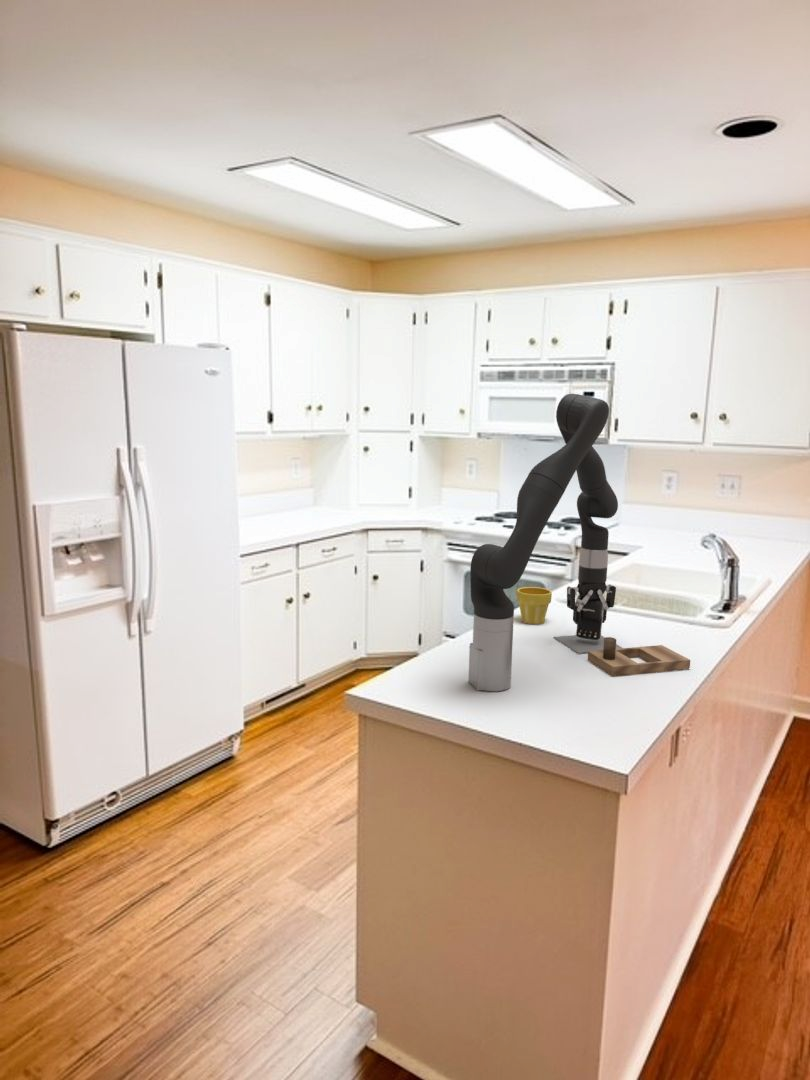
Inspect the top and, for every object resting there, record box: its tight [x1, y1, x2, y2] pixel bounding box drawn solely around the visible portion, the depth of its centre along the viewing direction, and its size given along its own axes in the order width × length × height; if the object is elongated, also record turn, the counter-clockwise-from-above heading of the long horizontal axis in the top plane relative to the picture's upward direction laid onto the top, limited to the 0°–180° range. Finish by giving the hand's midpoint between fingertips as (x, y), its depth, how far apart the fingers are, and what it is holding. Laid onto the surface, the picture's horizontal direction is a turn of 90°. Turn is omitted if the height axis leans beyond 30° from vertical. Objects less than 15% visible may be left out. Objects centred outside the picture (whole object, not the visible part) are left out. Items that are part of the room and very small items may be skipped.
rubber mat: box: [553, 634, 623, 655], centre depth 204 cm, size 14×14×1 cm
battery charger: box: [575, 598, 604, 640], centre depth 203 cm, size 7×4×11 cm, turn 61°
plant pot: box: [516, 586, 553, 625], centre depth 224 cm, size 10×10×10 cm
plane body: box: [587, 636, 691, 677], centre depth 188 cm, size 22×12×8 cm, turn 106°
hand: (589, 622), depth 203 cm, fingers closed on battery charger, 7 cm apart
